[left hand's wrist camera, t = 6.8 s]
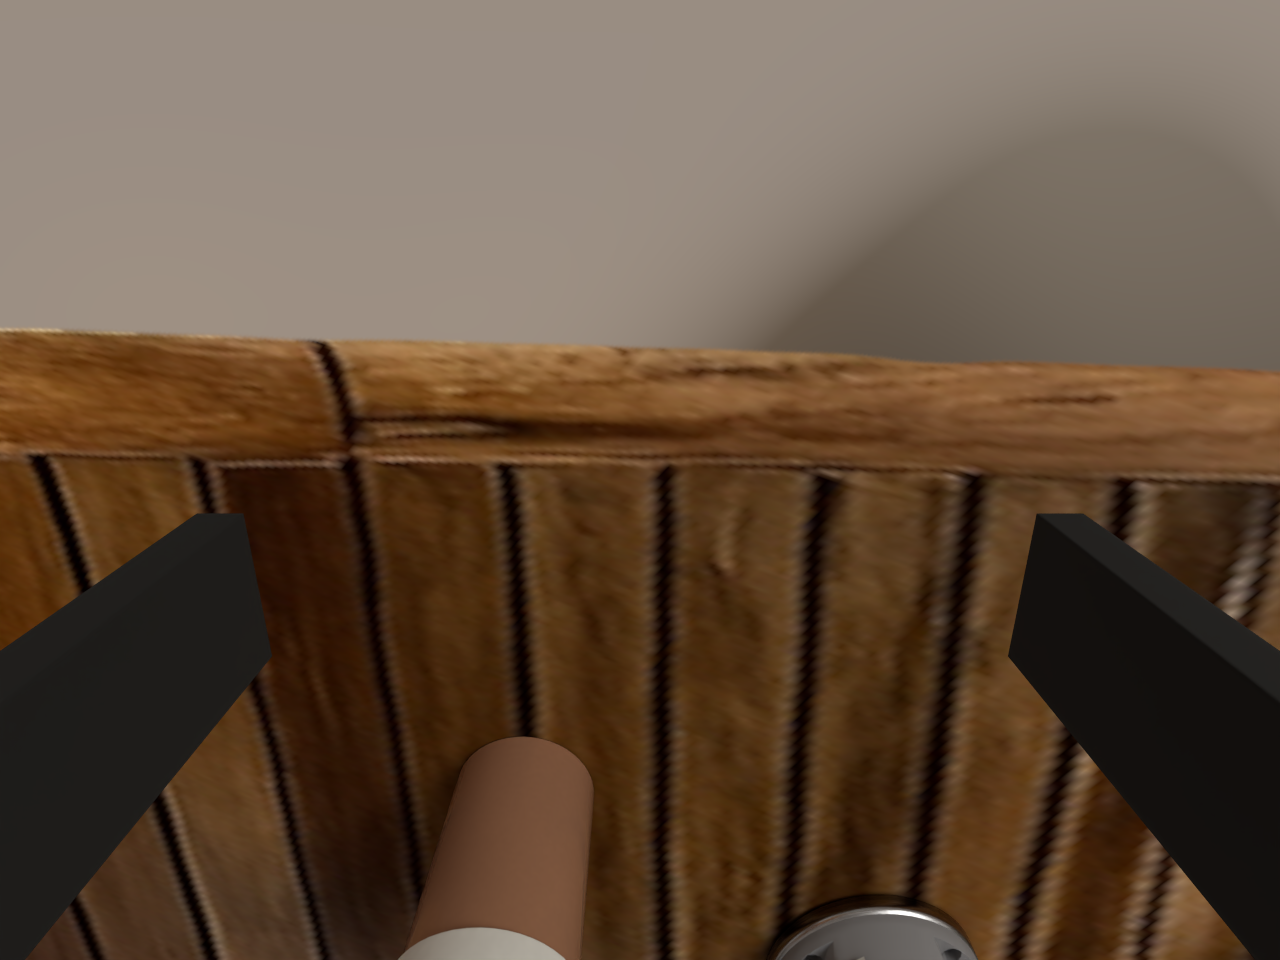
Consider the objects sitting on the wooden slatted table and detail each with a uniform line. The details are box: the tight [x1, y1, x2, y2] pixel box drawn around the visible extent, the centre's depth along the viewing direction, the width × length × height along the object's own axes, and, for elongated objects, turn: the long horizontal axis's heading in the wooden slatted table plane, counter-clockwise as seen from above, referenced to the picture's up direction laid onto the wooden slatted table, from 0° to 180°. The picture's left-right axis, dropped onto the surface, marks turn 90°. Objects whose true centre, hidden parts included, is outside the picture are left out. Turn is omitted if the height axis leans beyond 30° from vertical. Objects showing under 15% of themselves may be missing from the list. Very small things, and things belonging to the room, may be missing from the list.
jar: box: [403, 737, 594, 960], centre depth 42 cm, size 9×9×15 cm
